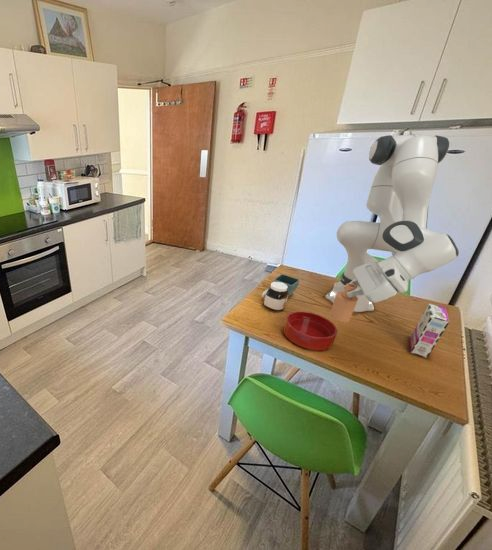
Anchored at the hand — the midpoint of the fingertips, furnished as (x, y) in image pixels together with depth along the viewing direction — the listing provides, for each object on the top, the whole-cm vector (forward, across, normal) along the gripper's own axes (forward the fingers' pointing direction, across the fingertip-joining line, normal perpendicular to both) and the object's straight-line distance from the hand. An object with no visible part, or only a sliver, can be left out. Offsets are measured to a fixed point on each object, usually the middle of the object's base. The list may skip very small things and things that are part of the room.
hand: (346, 292), depth 104 cm
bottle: (+7, 0, +8) cm, 11 cm away
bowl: (+21, -1, +12) cm, 24 cm away
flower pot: (+27, -32, +6) cm, 43 cm away
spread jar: (+31, -22, +2) cm, 38 cm away
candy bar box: (-5, -9, +38) cm, 40 cm away
